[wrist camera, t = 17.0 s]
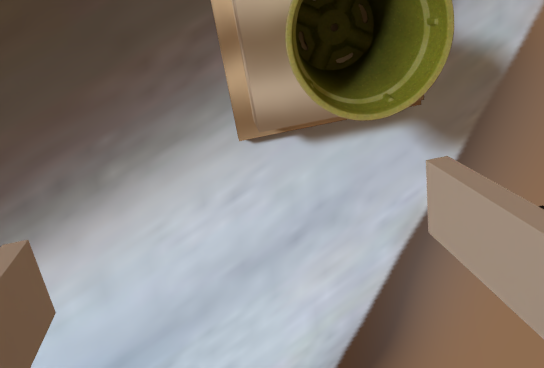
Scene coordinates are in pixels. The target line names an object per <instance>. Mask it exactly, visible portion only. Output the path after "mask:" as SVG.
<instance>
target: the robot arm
mask: <svg viewBox="0 0 544 368" xmlns="http://www.w3.org/2000/svg"><path fill="white" fill-rule="evenodd" d="M426 174H427V202H428V230H429V233H430V234H431V235H432V236H433V237H434V238H435V239H436V240H437V241H438V242H439V243H440V244H441V245H443V246H444V247H445V248H446V249H447V250H448V251H449V252H450V253H451V254H452V255H454V257H456V258H457V259H458V260H459V261H460V262H461V263H462V264H463V265H464V266H465V267H466V268H467V269H469V270H470V271H471V272H472V273H473V274H474V275H475V276H476V277H477V278H478V279H479V280H480V281H481V282H483V283H484V284H485V285H486V286H487V287H488V288H489V289H490V290H491V291H492V292H493V293H494V294H495V295H497V296H498V297H499V298H500V299H501V300H502V301H503V302H504V303H505V304H506V305H507V306H508V307H510V308H511V309H512V310H513V311H514V312H515V313H516V314H517V315H518V316H519V317H520V318H521V319H522V320H524V321H525V322H526V323H527V324H528V325H529V326H530V327H531V328H532V329H533V330H534V331H536V332H537V333H538V334H539V335H540V336H541V337H542V338H543V339H544V206H536V205H534V204H533V203H531V202H529V201H527V200H526V199H524V198H522V197H520V196H518V195H517V194H514V193H513V192H511V191H509V190H508V189H506V188H504V187H502V186H500V185H499V184H497V183H495V182H493V181H491V180H489V179H488V178H486V177H484V176H482V175H481V174H479V173H477V172H475V171H473V170H472V169H470V168H468V167H466V166H464V165H463V164H461V163H459V162H457V161H455V160H454V159H452V158H450V157H448V156H445V157H440V158H435V159H430V160H426ZM55 313H56V312H55V310H54V307H53V304H52V302H51V299H50V296H49V294H48V291H47V288H46V286H45V283H44V281H43V278H42V275H41V273H40V270H39V267H38V265H37V262H36V259H35V257H34V254H33V251H32V249H31V246H30V243H29V241H28V240H25V241H20V242H15V243H10V244H5V245H2V246H1V248H0V368H30V367H31V365H32V363H33V361H34V359H35V356H36V354H37V352H38V350H39V348H40V346H41V343H42V341H43V339H44V337H45V335H46V333H47V330H48V328H49V326H50V324H51V322H52V320H53V317H54V315H55Z"/></svg>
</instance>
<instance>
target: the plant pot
mask: <svg viewBox="0 0 544 368" xmlns="http://www.w3.org/2000/svg"><path fill="white" fill-rule="evenodd" d="M359 4H360V5H362V6H363V7H364V9H365V11H366V13H367V18H368V19H367V22H366V23H364V22H363V18H362V14H361V11H360V7H359ZM333 24H337V26H338V29H337V30H336V31H332V30H331V26H332V25H333ZM300 31H301V32H303V36H304V40H305V42H306V44H307V46H308V50H304V49H303V48H302V46H301V42H300V40H299V32H300ZM453 34H454V11H453V4H452V0H316V1H313V0H292V2H291V4H290V7H289V11H288V15H287V20H286V28H285V42H286V51H287V56H288V60H289V64H290V66H291V69H292V71H293V74H294V76H295V77H296V79H297V81H298V83H299V84H300V86H301V87H302V89H303V90H304V91H305V92H306V94H307V95H308V96H309V97H310V98H311V99H312V100H313V101H314V102H315V103H316V104H318V105H319V106H320V107H322V108H323V109H325V110H326V111H328V112H330V113H332V114H335V115H337V116H339V117H342V118H346V119H351V120H358V121H367V120H376V119H381V118H385V117H389V116H391V115H393V114H396V113H398V112H400V111H402V110H404V109H406V108H407V107H409V106H411V105H412V104H413V103H415V102H416V101H417V100H418V99H419V98H421V97H422V96H423V95H424V94H425V93H426V92H427V90H428V89H429V88H430V87H431V86H432V85H433V83H434V82H435V80H436V79H437V78H438V76H439V74H440V73H441V71H442V69H443V67H444V65H445V63H446V60H447V58H448V55H449V52H450V49H451V45H452V40H453ZM350 53H353V56H352V57H351V58H350V59H348V60H346V61H345V62H342V63H337V62H336V60H337V59H339V58H342V57H345V56H347V55H349V54H350Z"/></svg>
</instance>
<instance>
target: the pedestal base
mask: <svg viewBox="0 0 544 368" xmlns="http://www.w3.org/2000/svg"><path fill="white" fill-rule="evenodd" d="M313 1H316V0H313ZM291 2H292V0H211V4H212V9H213V14H214V19H215V24H216V29H217V34H218V39H219V44H220V49H221V54H222V59H223V64H224V69H225V74H226V79H227V84H228V89H229V94H230V99H231V104H232V109H233V114H234V119H235V124H236V129H237V134H238V138H239V141H242V140H247V139H252V138H257V137H262V136H267V135H272V134H277V133H282V132H287V131H292V130H297V129H302V128H307V127H312V126H317V125H322V124H327V123H332V122H337V121H342V120H347V119H346V118H342V117H339V116H337V115H335V114H332V113H330V112H328V111H326V110H325V109H323V108H322V107H320V106H319V105H318V104H316V103H315V102H314V101H313V100H312V99H311V98H310V97H309V96H308V95H307V94H306V92H305V91H304V90H303V89H302V87H301V86H300V84H299V83H298V81H297V79H296V77H295V76H294V74H293V71H292V69H291V66H290V64H289V60H288V56H287V51H286V42H285V28H286V20H287V15H288V11H289V7H290V4H291ZM359 7H360V11H361V14H362V18H363V22H364V23H366V22H367V19H368V18H367V13H366V11H365V9H364V7H363V6H362V5H360V4H359ZM337 29H338V26H337V24H333V25H332V26H331V30H332V31H336V30H337ZM299 40H300V42H301V46H302V48H303V49H304V50H308V46H307V44H306V42H305V40H304V36H303V32H301V31H300V32H299ZM352 56H353V53H350V54H349V55H347V56H345V57H342V58H339V59H337V60H336V62H337V63H342V62H345V61H346V60H348V59H350V58H351V57H352ZM421 100H424V95H423V96H422V97H421V98H419V99H418V100H417V101H416V102H415V103H413V104H412V105H411V106H416V105H421ZM411 106H409V107H411Z"/></svg>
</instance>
